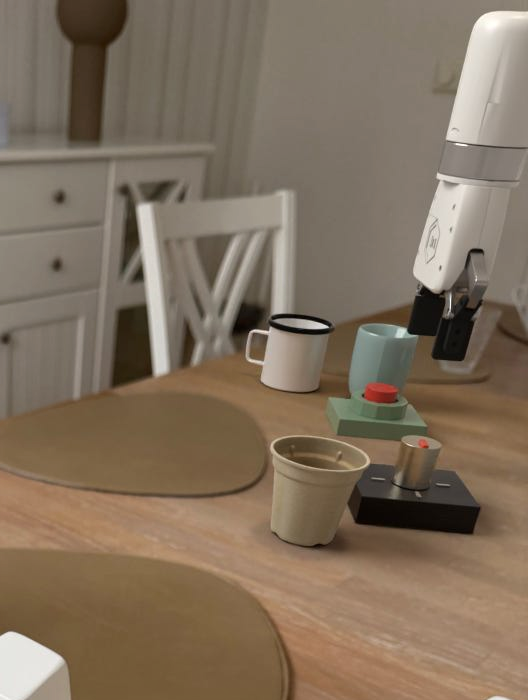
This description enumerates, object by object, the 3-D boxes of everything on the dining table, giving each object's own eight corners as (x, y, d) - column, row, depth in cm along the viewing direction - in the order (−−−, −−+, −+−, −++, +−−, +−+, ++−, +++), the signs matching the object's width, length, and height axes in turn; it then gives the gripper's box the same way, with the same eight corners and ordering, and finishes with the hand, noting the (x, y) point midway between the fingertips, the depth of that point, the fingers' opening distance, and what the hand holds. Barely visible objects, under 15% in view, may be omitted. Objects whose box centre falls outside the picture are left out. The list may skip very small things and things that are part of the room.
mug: (330, 384, 144) (344, 321, 139) (309, 399, 137) (323, 333, 132) (254, 367, 149) (264, 306, 144) (230, 381, 142) (240, 317, 137)
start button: (391, 397, 128) (394, 384, 127) (398, 407, 124) (401, 393, 123) (360, 394, 128) (363, 381, 127) (366, 404, 124) (369, 390, 124)
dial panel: (447, 496, 109) (455, 469, 107) (472, 534, 100) (481, 505, 99) (339, 486, 110) (345, 459, 108) (355, 523, 101) (362, 494, 99)
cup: (367, 413, 133) (385, 339, 128) (331, 396, 139) (347, 324, 134) (412, 409, 136) (431, 336, 130) (374, 392, 142) (391, 322, 136)
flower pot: (338, 517, 102) (357, 438, 97) (360, 558, 94) (382, 473, 89) (248, 511, 102) (263, 431, 97) (262, 551, 94) (279, 466, 89)
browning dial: (387, 473, 105) (399, 430, 103) (425, 477, 105) (437, 434, 102) (394, 487, 102) (406, 443, 99) (433, 491, 102) (446, 447, 99)
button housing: (407, 420, 132) (414, 391, 129) (423, 443, 124) (431, 412, 122) (324, 412, 132) (331, 383, 130) (335, 435, 124) (342, 404, 122)
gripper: (418, 154, 100) (379, 323, 109) (468, 173, 86) (418, 367, 95) (491, 159, 100) (446, 328, 109) (555, 179, 86) (496, 373, 94)
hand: (433, 346), depth 102 cm, fingers open, 9 cm apart
